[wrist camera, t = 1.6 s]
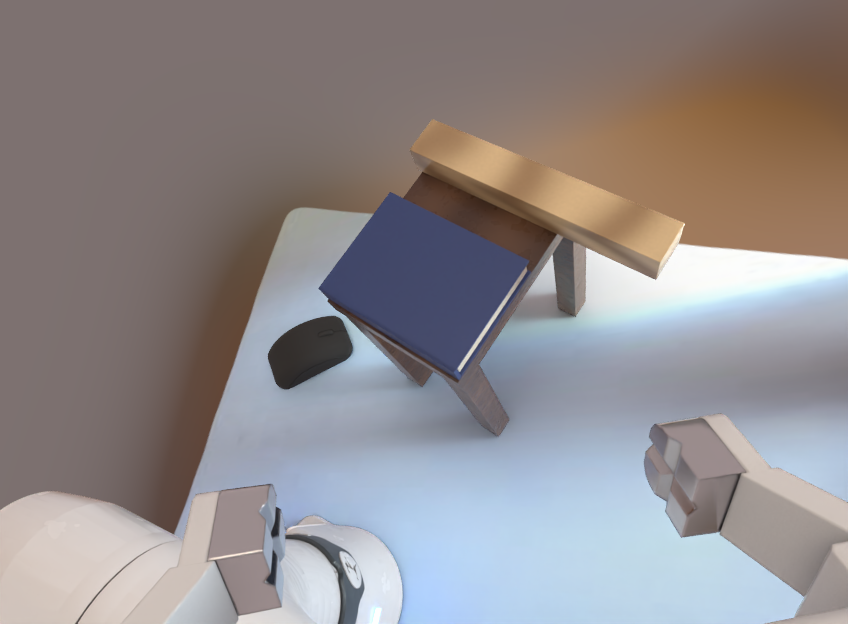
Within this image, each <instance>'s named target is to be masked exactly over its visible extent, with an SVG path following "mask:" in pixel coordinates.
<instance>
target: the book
mask: <svg viewBox="0 0 848 624" xmlns="http://www.w3.org/2000/svg"><path fill="white" fill-rule="evenodd" d="M528 263H529V260H527V259H525V258H523V257H521V256H519V255H517V254H515V253H513V252H511V251H509V250H507V249H505V248H502V247H500V246H498V245H496V244H494V243H492V242H490V241H488V240H486V239H484V238H482V237H480V236H478V235H476V234H474V233H472V232H470V231H468V230H466V229H464V228H462V227H460V226H458V225H456V224H454V223H452V222H450V221H448V220H446V219H444V218H442V217H440V216H438V215H436V214H434V213H432V212H430V211H428V210H426V209H424V208H422V207H420V206H418V205H416V204H413V203H411V202H409V201H407V200H405V199H403V198H401V197H399V196H397V195H395V194H393V193H391V192H390V193H389V194H388V196H387V197H386V198H385V200H384V201H383V203H382V204H381V205H380V207H379V208H378V209H377V211H376V212H375V213H374V215H373V216H372V217H371V219H370V220H369V221H368V223H367V224H366V225H365V227H364V228H363V229H362V231H361V232H360V233H359V235H358V236H357V237H356V239H355V240H354V241H353V243H352V244H351V245H350V247H349V248H348V249H347V251H346V252H345V253H344V255H343V256H342V257H341V259H340V260H339V261H338V263H337V264H336V266H335V267H334V268H333V270H332V271H331V272H330V274H329V275H328V276H327V278H326V279H325V280H324V282H323V283H322V284H321V286H320V287H319V288H318V289H319V290H320V291H321V292H322V293H323V294H324V295H325V296H326V297H327V298H328V299H330V300H331V301H333V302H335V303H336V304H338V305H339V306H341V307H343V308H344V309H346V310H347V311H349V312H351V313H352V314H354V315H355V316H357V317H359V318H360V319H362V320H363V321H365V322H367V323H368V324H370V325H371V326H373V327H375V328H376V329H378V330H379V331H381V332H383V333H384V334H386V335H387V336H389V337H391V338H392V339H394V340H395V341H397V342H399V343H400V344H402V345H403V346H405V347H407V348H408V349H410V350H411V351H413V352H415V353H416V354H418V355H419V356H421V357H423V358H424V359H426V360H427V361H429V362H430V363H432V364H434V365H435V366H437V367H438V368H440V369H442V370H443V371H445V372H446V373H448V374H450V375H451V376H453V377H454V378H456V379H458V380H460V379H461V377H462V376H463V374H464V373H465V371H466V370H467V368H468V367H469V365H470V364H471V362H472V361H473V359H474V358H475V356H476V355H477V353H478V352H479V350H480V349H481V347H482V346H483V344H484V343H485V341H486V340H487V338H488V337H489V335H490V334H491V332H492V331H493V329H494V328H495V326H496V325H497V323H498V322H499V320H500V319H501V317H502V316H503V314H504V313H505V311H506V310H507V308H508V307H509V305H510V304H511V302H512V301H513V299H514V298H515V296H516V295H517V293H518V292H519V290H520V289H521V287H522V286H523V284H524V283H525V281H526V280H527V278H528V277H529V275H530V274H531V271H529V270H527V267H526V266H527V264H528Z"/></svg>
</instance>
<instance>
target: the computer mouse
mask: <svg viewBox="0 0 848 624" xmlns="http://www.w3.org/2000/svg"><path fill="white" fill-rule="evenodd" d="M351 352H352V344H351V341H350V339H349V336H348V334H347V331H346V329H345V326H344V324H343V321H342V320H341V319H340V318H338V317H336V316H327V317H321V318H316V319H313V320H310V321H307V322H304V323H302V324H300V325H298V326H296V327H294V328H292V329H291V330H289V331H287V332H286V333H285V334H283V335H282V336H281V337H280V338H279V339H278V340H277V341H276V342H275V343H274V344H273V346H272V347H271V349H270V351H269V353H268V360H269V363H270V366H271V369H272V372H273V375H274V378H275V382H276V384H277V385H278V386H279V387H281V388H283V389H290V388H292V387H294V386H296V385H298V384H300V383H302V382H304V381H306V380H308V379H310V378H312V377H314V376H315V375H317V374H319V373H321V372H323V371H325V370H327V369H329V368H331V367H333V366H335V365H337V364H339V363H341V362H343V361H345V360H346V359H347V358H348V357H349V356H350V355H351Z"/></svg>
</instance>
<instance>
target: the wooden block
mask: <svg viewBox="0 0 848 624" xmlns="http://www.w3.org/2000/svg"><path fill="white" fill-rule="evenodd" d="M410 152H411V155H412V157H413V159H414V162H415V164H416V166H417V169H418V170H420V171H422V172H424V173H426V174H428V175H430V176H433V177H435V178H437V179H439V180H441V181H443V182H446V183H448V184H450V185H452V186H454V187H456V188H458V189H461V190H463V191H465V192H467V193H469V194H471V195H474V196H476V197H478V198H480V199H482V200H484V201H487V202H489V203H491V204H493V205H495V206H497V207H500V208H502V209H504V210H506V211H508V212H510V213H513V214H515V215H517V216H519V217H521V218H523V219H525V220H528V221H530V222H532V223H534V224H536V225H538V226H541V227H543V228H545V229H547V230H549V231H551V232H554V233H556V234H558V235H560V236H562V237H564V238H567V239H569V240H571V241H573V242H575V243H577V244H580V245H582V246H584V247H586V248H588V249H590V250H592V251H595V252H597V253H599V254H601V255H603V256H605V257H608V258H610V259H612V260H614V261H616V262H618V263H621V264H623V265H625V266H627V267H629V268H631V269H634V270H636V271H638V272H640V273H642V274H644V275H647V276H649V277H651V278H653V279H655V280H656V279H657V277H658V276H659V274H660V272H661V271H662V269H663V267H664V266H665V264H666V263H667V261H668V259H669V258H670V256H671V255H672V253H673V251H674V250H675V248H676V246H677V245H678V243H679V240H680V237H681V234H682V230H683V227H684V223H683V222H680V221H678V220H675V219H672V218H670V217H668V216H665V215H663V214H661V213H658V212H656V211H653V210H651V209H648V208H646V207H644V206H641V205H639V204H637V203H634V202H632V201H629V200H627V199H624V198H622V197H619V196H617V195H615V194H612V193H610V192H607V191H605V190H603V189H600V188H598V187H595V186H593V185H590V184H588V183H586V182H583V181H581V180H578V179H576V178H573V177H571V176H569V175H566V174H564V173H561V172H559V171H557V170H554V169H551V168H549V167H547V166H544V165H542V164H540V163H537V162H535V161H532V160H530V159H527V158H525V157H523V156H520V155H518V154H515V153H513V152H511V151H508V150H506V149H503V148H500V147H498V146H496V145H494V144H491V143H488V142H486V141H484V140H481V139H479V138H477V137H474V136H472V135H469V134H467V133H464V132H462V131H459V130H457V129H454V128H452V127H450V126H448V125H445V124H443V123H440V122H438V121H435V120H433V119H432V120H431V122H430V123H429V124H428V126H427V127H426V128H425V130H424V131H423V133H422V134H421V135H420V136H419V138H418V139H417V140H416V142H415V143H414V144H413V146H412V147H411V148H410Z"/></svg>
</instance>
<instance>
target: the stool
mask: <svg viewBox="0 0 848 624" xmlns="http://www.w3.org/2000/svg"><path fill="white" fill-rule="evenodd" d="M403 199H405V200H407V201H409V202H411V203H413V204H416V205H418V206H420V207H422V208H424V209H426V210H428V211H430V212H432V213H434V214H436V215H438V216H440V217H442V218H444V219H446V220H448V221H450V222H452V223H454V224H456V225H458V226H460V227H462V228H464V229H466V230H468V231H470V232H472V233H474V234H476V235H478V236H480V237H482V238H484V239H486V240H488V241H490V242H492V243H494V244H496V245H498V246H500V247H502V248H505V249H507V250H509V251H511V252H513V253H515V254H517V255H519V256H521V257H523V258H525V259H527V260H529V263H528V264H527V266H526V267H527V270H529V271H531V274H530V275H529V277H528V278H527V280H526V281H525V283H524V284H523V286H522V287H521V289H520V290H519V292H518V293H517V295H516V296H515V298H514V299H513V301H512V302H511V304H510V305H509V307H508V308H507V310H506V311H505V313H504V314H503V316H502V317H501V319H500V320H499V322H498V323H497V325H496V326H495V328H494V329H493V331H492V332H491V334H490V335H489V337H488V338H487V340H486V341H485V343H484V344H483V346H482V347H481V349H480V350H479V352H478V353H477V355H476V356H475V358H474V359H473V361H472V362H471V364H470V365H469V367H468V368H467V370H466V371H465V373H464V374H463V376H462V377H461V379H460V380H458V379H456V378H454V377H453V376H451V375H450V374H448V373H446V372H445V371H443V370H442V369H440V368H438V367H437V366H435V365H434V364H432V363H430V362H429V361H427V360H426V359H424V358H423V357H421V356H419V355H418V354H416V353H415V352H413V351H411V350H410V349H408V348H407V347H405V346H403V345H402V344H400V343H399V342H397V341H395V340H394V339H392V338H391V337H389V336H387V335H386V334H384V333H383V332H381V331H379V330H378V329H376V328H375V327H373V326H371V325H370V324H368V323H367V322H365V321H363V320H362V319H360V318H359V317H357V316H355V315H354V314H352V313H351V312H349V311H347V310H346V309H344V308H343V307H341V306H339V305H338V304H336V303H335V302H333V301H331V300H330V299H328V302H329V303H330V304H331V305H332V306H333V307H334V308H335V309H336V310H337V311H339V312H340V313H342V314H344V315H345V316H346V317H347V318H348V319H349V320H350V321H351V322H352V323H353V324H354V325H355V326H356V327H357V328H358V329H359V330H360V331H361V332H362V333H363V334H364V335H365V336H366V337H368V338H369V339H370V340H371V341H372V342H373V343H374V344H375V345H376V346H377V347H378V348H379V349H380V350H381V351H382V352H383V353H384V354H385V355H386V356H387V357H388V358H389V359H390V360H391V361H392V362H393V363H394V364H395V365H396V366H397V367H398V368H399V369H400V370H401V371H402V372H403V373H404V374H405V375H406V376H407V377H408V378H409V379H411V380H412V381H414V382H415V383H417V384H418V385H420V386H421V387H423V385H424V384H425V383H426V381H427V380H428V378H429V377H430V375H431V374H432V372H433V371H434V372H435V373H437V374H438V375H440V376H442V377H443V378H444V379H445V380H446V382H447V383H448V384H449V385H450V387H451V388H452V389H453V390H454V392H455V393H456V394H457V395H458V397H459V398H460V399H461V400H462V402H463V403H464V404H465V405H466V407H467V408H468V409H469V410H470V412H471V413H472V414H473V415H474V417H475V418H476V419H477V420H478V422H479V423H480V424H481V425H482V426H483V427H484V428H486V429H487V430H489V431H490V432H492V433H493V434H495V435H497V436H498V437H499V435H500V434H501V432H502V431H503V429H504V428H505V426H506V424H507V423H508V421H509V418H508V416H507V414H506V412H505V411H504V409H503V407H502V405H501V403H500V402H499V400H498V398H497V396H496V394H495V393H494V391H493V389H492V387H491V385H490V383H489V382H488V380H487V378H486V376H485V374H484V373H483V371H482V369H481V367H480V365H479V363H480V362H481V360H482V359H483V357H484V356H485V354H486V353H487V351H488V350H489V348H490V347H491V345H492V344H493V342H494V341H495V339H496V338H497V336H498V335H499V333H500V332H501V330H502V329H503V327H504V326H505V324H506V323H507V321H508V320H509V318H510V317H511V315H512V314H513V312H514V311H515V309H516V308H517V306H518V305H519V303H520V302H521V300H522V299H523V297H524V296H525V294H526V293H527V291H528V290H529V288H530V287H531V285H532V284H533V282H534V281H535V279H536V278H537V276H538V275H539V273H540V272H541V270H542V269H543V267H544V266H545V264H546V263H547V261H548V260H549V258H550V257H551V255H552V254H553V262H554V271H555V281H556V291H557V301H558V308H559V309H561V310H563V311H565V312H567V313H569V314H571V315H573V316H575V317H576V315H577V314H578V312H579V310H580V309H581V307H582V306H583V304H584V303H585V291H586V247H584V246H582V245H580V244H577V243H575V242H573V241H571V240H569V239H567V238H564V237H562V236H560V235H558V234H556V233H554V232H551V231H549V230H547V229H545V228H543V227H541V226H538V225H536V224H534V223H532V222H530V221H528V220H525V219H523V218H521V217H519V216H517V215H515V214H513V213H510V212H508V211H506V210H504V209H502V208H500V207H497V206H495V205H493V204H491V203H489V202H487V201H484V200H482V199H480V198H478V197H476V196H474V195H471V194H469V193H467V192H465V191H463V190H461V189H458V188H456V187H454V186H452V185H450V184H448V183H446V182H443V181H441V180H439V179H437V178H435V177H433V176H430V175H428V174H426V173H424V172H422V173H421V175H420V176H419V177H418V179H417V180H416V182H415V183H414V184H413V186H412V187H411V189H410V190H409V191H408V192H407V194H406V195H405V196H404V198H403Z"/></svg>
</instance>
